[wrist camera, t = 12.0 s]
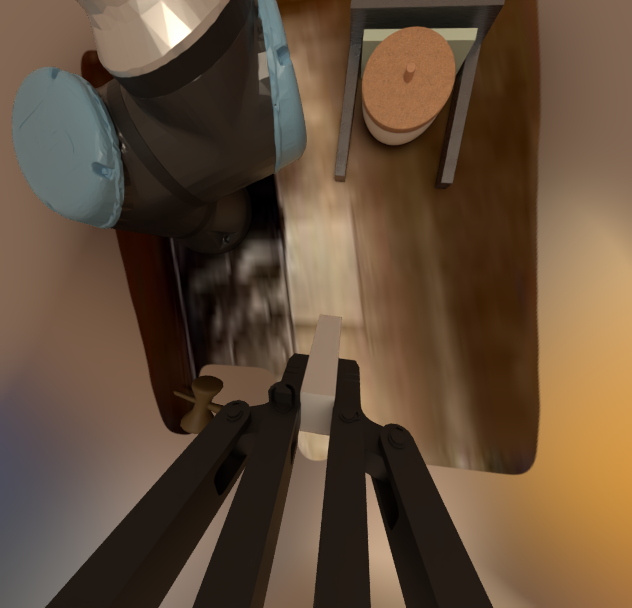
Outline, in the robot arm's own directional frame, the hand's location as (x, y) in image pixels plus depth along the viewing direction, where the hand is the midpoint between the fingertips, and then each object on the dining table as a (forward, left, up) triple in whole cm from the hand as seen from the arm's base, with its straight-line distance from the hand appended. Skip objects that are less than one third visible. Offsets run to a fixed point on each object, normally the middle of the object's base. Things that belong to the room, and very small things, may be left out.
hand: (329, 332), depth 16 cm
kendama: (-20, -26, -25) cm, 41 cm away
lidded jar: (+4, +27, -25) cm, 37 cm away
